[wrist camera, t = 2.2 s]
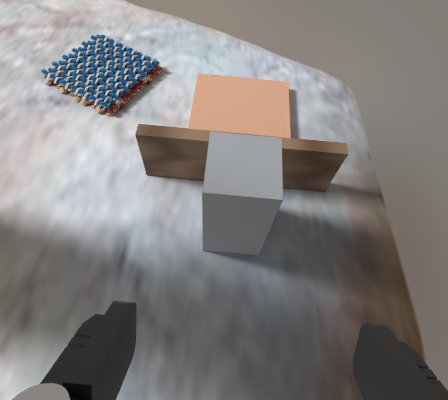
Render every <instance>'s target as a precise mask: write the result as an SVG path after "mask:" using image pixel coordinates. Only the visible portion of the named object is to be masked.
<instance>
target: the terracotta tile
mask: <svg viewBox="0 0 448 400" xmlns="http://www.w3.org/2000/svg"><path fill="white" fill-rule="evenodd" d="M189 129H198V130H209V131H219V132H230V133H241V134H252V135H262V136H273V137H284V138H291V130H290V106H289V82H282V81H272V80H261V79H251V78H240V77H229V76H219V75H208V74H198V77H197V83H196V88H195V94H194V100H193V106H192V111H191V117H190V123H189Z"/></svg>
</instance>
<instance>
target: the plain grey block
mask: <svg viewBox="0 0 448 400" xmlns="http://www.w3.org/2000/svg"><path fill="white" fill-rule="evenodd" d="M282 201H283V179H282V138H277V137H266V136H255V135H245V134H234V133H223V132H213V131H210V136H209V144H208V152H207V160H206V168H205V176H204V183H203V191H202V206H203V251H214V252H225V253H236V254H247V255H258V256H259V254H260V252H261V249H262V247H263V245H264V243H265V240H266V238H267V236H268V233H269V231H270V229H271V226H272V224H273V222H274V219H275V217H276V215H277V213H278V210H279V208H280V206H281V203H282Z"/></svg>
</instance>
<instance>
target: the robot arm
mask: <svg viewBox="0 0 448 400" xmlns="http://www.w3.org/2000/svg"><path fill="white" fill-rule="evenodd" d="M135 343H136V303H135V302H123V301H113V302H112V304H111V305H110V307H109V309H108V310H107V312H106V313H105V315H98V314H95V315H94V316H92V317H91V318H90V319H88V320H87V321H85V322H84V323H83V324H82V325H81V327H80V328H79V329H78V331H77V332H76V334H75V336H74V337H73V338H72V339H71V341H70V342H69V344H68V347H66V348H65V349H64V351H63V352H62V354H61V355H60V356H59V358H58V359H57V361H56V362H55V364H54V365H53V366H52V368H51V369H50V371H49V372H48V373H47V375H46V376H45V378H44V379H43V381H42V382H41V383H40V384H39V385H36V386H33V387H30V388H28V389H26V390H24V391H23V392H21V393H20V394H18V395H17V396H16V397H15V398H13V399H12V400H116V398H117V396H118V393H119V391H120V388H121V386H122V383H123V381H124V378H125V375H126V373H127V370H128V368H129V365H130V363H131V360H132V358H133V354H134V350H135ZM353 372H354V377H355V380H356V382H357V384H358V386H359V388H360V390H361V392H362V394H363V397H364V399H365V400H448V391H447V390H446V388H445V387H444V386H443V385H442V383H441V382H440V381H439V380H437V377H436V376H435V374H434V373H433V372H432V371H431V369H429V368H428V366H427V364H426V363H425V362H424V361H423V359H422V358H421V357H420V356H419V354H418V353H416V352H415V351H414V350H413V349H411V348H410V347H409V346H407V345H406V344H405V343H404V342H399V340H398V339H397V338H396V336H395V335H394V334H393V332H392V331H391V330H390V328H389V327H388V326H385V325H374V324H363V325H362V326H361V329H360V333H359V337H358V341H357V346H356V350H355V354H354V358H353Z"/></svg>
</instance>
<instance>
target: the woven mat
mask: <svg viewBox="0 0 448 400" xmlns="http://www.w3.org/2000/svg"><path fill="white" fill-rule="evenodd" d="M102 38H103V39H102ZM91 39H93V40H95V41H96V42H95V41H92V42H91V41H88V42H87V43H86V42H82V45H83V46H85V47H84V48H81V47H79V48H78V50H79V51H78V50H77V49H75V48H74V49H72V51H73V52H75V53H76V54H77V55H76V54H74V55H72V54H69V57H67V56H66V55H63V56H62V57H63V59H66V60H67V61H63V62H62V61H59V64H60V65H59V64H57V63H56V62H53V63H52V64H53V66H56V67H55V68H54V69H52V68H49V69H48V71H49V72H47V71H46V70H44V69H43V70H42V71H41V72H42V73H44V74H45V75H46V76H45V79H46V80H45V84H47V85H51V84H53V85H54V84H56V85H57V86H56V88H57V89H60V90H59V92H62V93H67V92H68V91H70V92H71V93H70V96H75V95H77V96H78V97H77V98H75V99H74V101H76V102H79V101H81V104H83V105H87V104H93V105H92V106H90V107H92V108H95V107H96V112H98V113H102V112H104V111H107V112H108V113H107V114H106V116H108V117H110V116H111V115H113V114H114V113H115V112H116V111H117V110H118V109H119V107H120V108H121V107H124V106H125V103H126V102H127V101H129V100H130V99H131V98H133V97H134V95H135V94H136V93H138V92H139V91H140V90H141V89H142V88H143V87H145V86H146V84H150V83H151V82H150V81H151V80H152V79H153V78H155V77H156V76H157V75H159V73H160V72H161V71H162V70H163V69H162V68H161V67H159V62H158V61H156V60H157V59H156V58H155V59H152V58H151V57H149V56H148V57H147V55H142V52H141V51H140V52H137V50H134V49H132V48H128V46H124V45H123V44H122V43H119V42H117V41H116V42H115V41H114V40H113V39H110V38H109V37H107V36H104V35H97V36H96V37H95V36H93V35H92V36H91ZM118 43H119V44H118ZM88 44H89V45H88ZM127 48H128V49H127ZM84 51H85V52H84ZM101 60H102V61H101ZM147 60H148V61H147ZM155 70H157V71H155ZM149 72H150V73H149ZM151 73H152V74H151ZM138 83H139V85H138ZM133 87H135V89H133ZM124 94H125V95H127V96H126V97H125V96H123V95H124ZM110 107H112V108H111V109H109V108H110Z"/></svg>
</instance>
